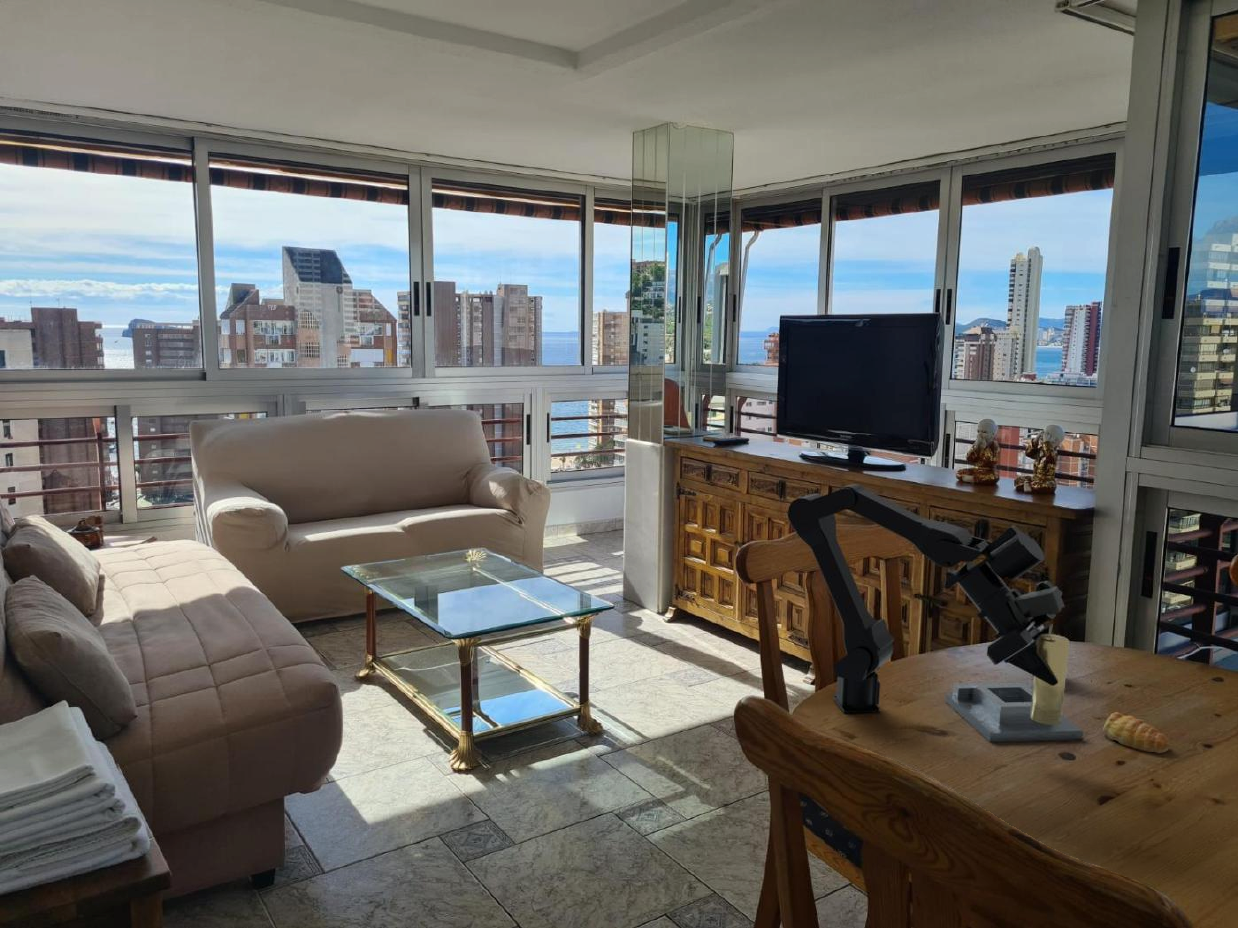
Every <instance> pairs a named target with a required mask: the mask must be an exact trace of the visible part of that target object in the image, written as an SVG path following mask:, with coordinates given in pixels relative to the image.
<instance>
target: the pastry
mask: <svg viewBox="0 0 1238 928" xmlns="http://www.w3.org/2000/svg"><path fill="white" fill-rule="evenodd" d="M1102 732H1103V733H1104V735H1106V737H1107V738H1108V739H1109V740H1111V741H1117V742H1118V743H1119V744H1120V745H1124V746H1126V747H1131V748H1132V749H1136V750H1140V751H1143V752H1148V753H1158V754H1161V753H1165V752H1166V751H1168V750H1169V749H1170V746H1171V745H1172V742H1171V740H1170V739H1169V738H1168V737H1167V736H1166V735H1165V734H1163V732H1161V730H1158V729H1156V728H1155V727H1154V726H1153V725H1151V724H1148V723H1146V722H1145V721H1144V719H1139V718H1135V716H1133V715H1124V714H1123V713H1121V712H1117V711H1115V712H1113V713H1111V714H1110V716H1109V717H1107V720H1106V721H1105V723H1104V726H1103V729H1102Z"/></svg>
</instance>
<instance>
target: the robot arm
mask: <svg viewBox="0 0 1238 928" xmlns="http://www.w3.org/2000/svg"><path fill="white" fill-rule="evenodd" d="M846 510H848V511H850V512H853V513H854V514H857V515H859V516H860V517H863V518H864V519H866V520H868V521H870V522H873V523H875V524H877V526H880V527H882V528H884V529H886V530H888V531H890V532H892V533H894V534H896V535H898V536H899V537H901V538H903V539H905V540H907V541H908V542H910V543H911V544H912V545H913V546H914V547H915V548H916V549H917V550H918V552H920V553H921V555H923V556H924V557H925V558H927V559H928V560H929V561H932V563H934V564H936V565H937V566H938V567H942V568H946V569H947V568H952V567H953V568H954V567H955V566H957V565H959V564H960V563H965V562H966V563H965V564H963V565H962V566H961V567H959V568H958V569H956V570H953V569H949V570H947V571H946V572H945V582H944V586H943V587H944V589H945V590H949V589H950V588H952V587H954V586H955V585H956V584H958V586H959V587H960V588H961V590H962V591H963V592H964V593H965V595H966V596H967V597H968V598H969V600H970V601H972V603H973V604H974V605H975V607H976V608H977V609H978V610H979V612H978V613H977V614H976V615H977V616H978V617H979V619H980V620H982V619H984V618H985V619H986V620H987V623H989V624H990V626H991V627H992V628H993V630H995V632H996V634H995V635H994V637H995V640H994V641H992V642H991V643H990V644H989V645H988V646H987V649H986V656H987V657H988V658H989V660H990V661H991V662H992V663H993V665H994V666H996V665H998V664H1001V662H1004V663H1006V664H1010V665H1012V666H1015V667H1016V668H1019V669H1021V670H1023V671H1024V672H1026V673H1028V674H1029V675H1032V676H1033V677H1034V676H1035V677H1037V678H1039V679H1041V680H1042V681H1044V682H1046V683H1048V684H1050V685H1052V686H1054V685H1056V684H1057V683H1058V680H1057V678H1056V676H1055V675H1054V673H1053V671H1052V670H1051V668H1050V667H1049V665H1048V663H1047V662H1046V660H1045V659H1044V657H1043V656H1042V654H1041V652H1040V650H1039V647H1040V637H1038V635H1041V634H1051V631H1052V630H1053V627H1054V624H1053V623H1049V624H1048V625H1046V626H1044V624H1045V623H1046V622H1050V621H1052V620H1053V619H1054V618H1055V617H1056V616H1057V614H1059V613H1060V612H1061V611H1062V609H1063V608H1064V609H1065V603H1064V601H1063V599H1062V596H1063V591H1062V590H1060V589H1059V588H1058V585H1056V586H1054V584H1052V583H1051V582H1050V581H1049V580H1045V581H1044V580H1043V581H1040V582H1038V583H1037V584H1036V587H1035V590H1034V591H1030V592H1029V593H1024V594H1022V593H1021V592H1020V591H1019V590H1018V589H1017V588H1012V589H1010V588H1009V587H1008V585H1007V584H1006V583H1005V582H1004V580H1005V579H1009V580H1011V581H1015V580H1016V579H1018V578H1020V577H1021V576H1022V575H1024V574H1026V573H1027V572H1028V571H1030V570H1032V569H1033V568H1034V567H1036V566H1037V565H1038V564H1040V563H1042V562H1044V560H1045V554H1044V551H1043V550H1042V548H1041V547H1040V545H1039V544H1038V543H1037V542H1036V540H1035V539H1034V538H1031V537H1030V536H1029V535H1028V534H1027V533H1025V532H1023V531H1022V530H1020V529H1019V528H1018V527H1017V526H1016V525H1015V524H1014V525H1012V526H1010V527H1009V528H1007V529H1006V530H1004V531H1003V533H1002V534H1001V535H999V536H998V537H997V538H995V539H994V540H992V541H990V540H987V539H983V538H980V537H976V536H974V535H972V534H971V533H970V532H969V531H968V530H967V529H965V528H963V527H960V526H959V525H954V524H951V523H948V522H945V521H944V522H943V521H939V520H938V521H937V520H932V519H930V518H929V519H928V518H925V517H923V516H921V515H918V514H916V513H914V512H912V511H910V510H908V509H906V508H904V507H902V506H900V505H898V504H896V503H894V502H892V501H890V500H887V498H884V497H882V496H880V495H877V494H876V493H874V492H871V490H868V489H866V488H864V487H863V486H862V485H860V484H859V483H858V484H857V483H852V484H848V485H846V486H842V487H841V488H840V489H838V490H836V491H832V492H830V493H827V494H825V495H823V494H821V493H812V494H808V495H805V496H802V497H798V498H795V499H794V500H792V502H791V503H790V504H789V507H788V509H787V511H786V512H787V513H786V515H787V519H788V521H789V524H790V525H791V526H792V528H793V531H795V533H796V534H797V536H798V537H799V538H800V539H801V540H802V541H803V542H804V543H805V544H806V545H807V546H808V547H809V548H810V550H811V551H812V553H813V556H814V558H815V560H816V563H817V565H818V567H819V570H820V573H821V575H822V577H823V579H824V582H825V585H826V586H827V589H828V591H829V593H830V595H831V597H832V600H833V603H834V605H835V607H836V609H837V612H838V615H839V617H840V619H841V622H842V624H843V645H844V648H845V652H846V655H845V656H844V657H842V658H841V659H839V660H837V661H836V662H834V664H833V670H834V673H835V676H836V677H837V682H836V683H837V684H836V695H833V696H832V699H833V701H834V702H835V703H836V705H837V706H838V707H839V708H840V709H841V710H842V712H843V713H846V714H858V713H859V714H860V713H862V714H863V713H865V714H866V713H880V712H881V708H880V707H879V704H880V695H881V682H880V681H879V674H878V673H877V672H876V671H877V670H879V669H881V666H882V665H884V664H885V663H886V662H888V661H889V660H890V659H891V657H892V655H893V652H894V646H893V645H894V644H893V642H894V641H895V638H894V637H893V636H892V635H891V633H890V631H889V628H888V626H887V625H888V624H887V622H886V620H885V619H884V618H882V619H881V620H878V621H877V620H876V619H875V618H874V617H873V616H872V615H871V614H870V612H869V611H868V609H867V607H866V604H865V602H864V599H863V597H862V595H861V592H860V591H859V587H858V586H857V583H856V581H855V578H854V576H853V574H852V572H851V569H850V567H849V565H848V563H847V561H846V558H845V556H844V553H843V551H842V549H841V546H840V545H839V541H838V539H837V538H838V537H837V521H836V517H835V514H837V513H840V512H843V511H846ZM981 556H984V557H985V559H983V560H982V561H980V562H979V563H975V562H974V561H976V560H977V559H979V558H980V557H981Z"/></svg>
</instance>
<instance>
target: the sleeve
mask: <svg viewBox="0 0 1238 928" xmlns="http://www.w3.org/2000/svg"><path fill="white" fill-rule="evenodd" d="M1038 637H1040V647H1039V650H1040V652H1041V654H1042V656H1043V657H1044V659H1045V660H1046V662H1047V663H1048V665H1049V667H1050V668H1051V670H1052V671H1053V673H1054V675H1055V676H1056V678H1057V680H1058V683H1057V684H1056V685H1054V686H1052V685H1050V684H1048V683H1046V682H1044V681H1042V680H1041V679H1039V678H1037V677H1035V676H1033V682H1032V686H1033V691H1032V701H1031V711H1030V717H1031V719H1033V720H1034V721H1036V722H1039V723H1042V724H1047V725H1057V724H1060V723H1061V717H1062V715H1063V706H1064V705H1063V704H1064V698H1065V688H1066V678H1067V669H1068V658H1069V649H1070V648H1069V647H1070V640H1069V638H1067V637H1063V636H1062V635H1060V636H1058V634H1055V635H1053V634H1041V635H1038Z"/></svg>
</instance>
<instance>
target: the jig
mask: <svg viewBox="0 0 1238 928" xmlns="http://www.w3.org/2000/svg"><path fill="white" fill-rule="evenodd" d="M1032 691H1033V684H1030V683H1029V682H1028V681H1025V682H1022V681H1020V682H1019V681H1018V682H983V683H982V682H979V683H978V682H975V683H971V682H970V683H952V693H951V692H950V693H949V692H947V693H945V698H944V699H945V700H944V701H946V704H947V705H948V706H950V707H951V708H952V709H953V710H954V711H955V712H956V711H957V712H958V714H959V716H960V717H962V718H963V719H964V720H965V722H967V723H969V724H970V726H972V728H974V730H976V731H977V732H978V733H979V734H980V735H982V737H984V739H986V740H987V741H988V742H989V743H994V742H995V743H997V742H999V743H1000V742H1001V743H1003V742H1027V741H1028V742H1029V741H1030V742H1031V741H1032V742H1033V741H1034V742H1035V741H1070V740H1083V735H1084V730H1083V729H1081V728H1080V727H1079V726H1078V725H1076V724H1075V723H1074V722H1073V721H1071V720H1070V719H1068V718H1067V717H1065V716H1064V715H1063V714H1062V717H1061V723H1060V724H1057V725H1047V724H1042V723H1039V722H1036V721H1034V720H1033V719H1031V717H1030V711H1031V701H1032ZM957 712H956V713H957Z"/></svg>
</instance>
